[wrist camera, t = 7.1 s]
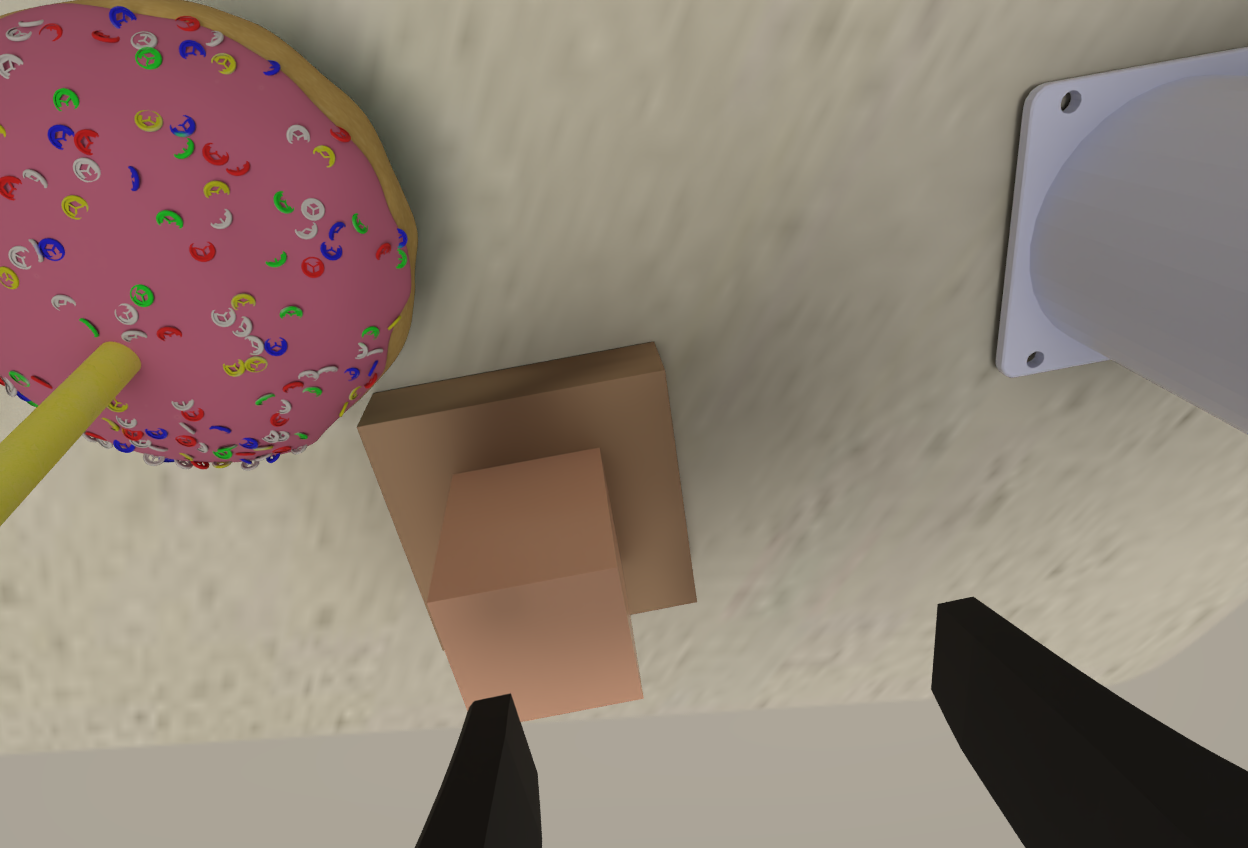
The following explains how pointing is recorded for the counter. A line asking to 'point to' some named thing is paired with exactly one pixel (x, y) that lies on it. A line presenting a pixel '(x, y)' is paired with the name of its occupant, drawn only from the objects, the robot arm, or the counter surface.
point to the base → (542, 455)
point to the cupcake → (186, 240)
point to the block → (535, 588)
